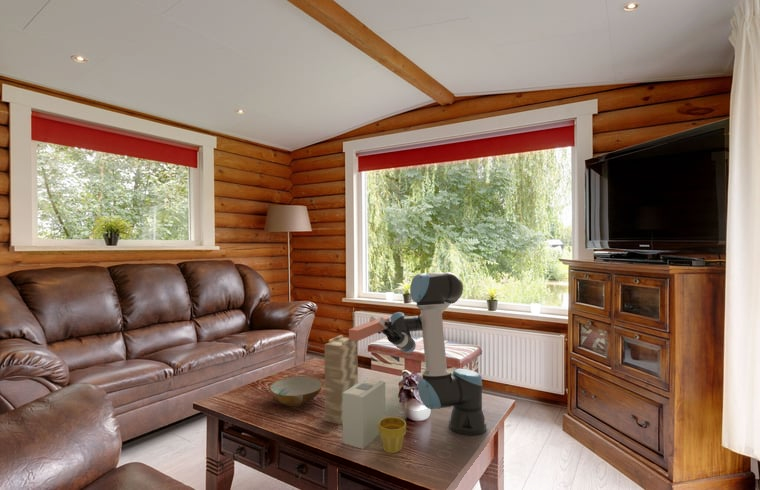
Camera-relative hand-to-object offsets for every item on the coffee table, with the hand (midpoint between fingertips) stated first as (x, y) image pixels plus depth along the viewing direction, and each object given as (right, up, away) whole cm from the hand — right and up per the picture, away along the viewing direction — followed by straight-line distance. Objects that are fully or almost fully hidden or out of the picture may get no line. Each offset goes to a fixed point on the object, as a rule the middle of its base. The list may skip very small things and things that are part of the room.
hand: (375, 319), depth 168 cm
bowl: (-38, -44, +26) cm, 64 cm away
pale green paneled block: (-4, -45, -7) cm, 46 cm away
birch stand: (-15, -44, +11) cm, 48 cm away
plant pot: (+6, -45, -17) cm, 49 cm away
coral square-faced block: (-2, -5, -4) cm, 6 cm away
